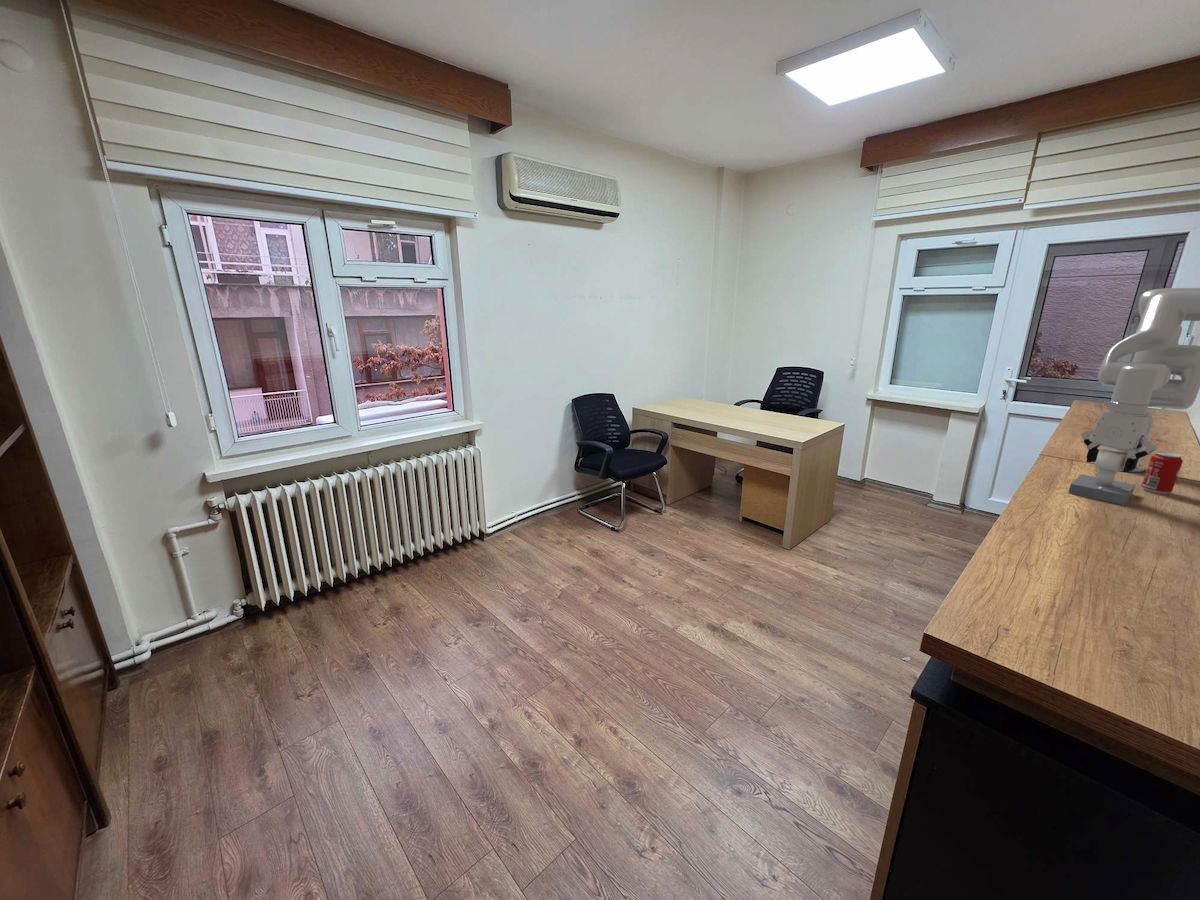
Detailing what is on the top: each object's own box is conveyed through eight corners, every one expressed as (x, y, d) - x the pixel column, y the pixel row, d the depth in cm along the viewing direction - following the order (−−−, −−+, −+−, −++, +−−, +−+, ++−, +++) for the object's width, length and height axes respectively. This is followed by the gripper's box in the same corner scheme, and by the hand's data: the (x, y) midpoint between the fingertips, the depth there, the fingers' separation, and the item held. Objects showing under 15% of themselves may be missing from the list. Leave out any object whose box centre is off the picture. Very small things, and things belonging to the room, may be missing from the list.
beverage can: (1177, 495, 145) (1191, 457, 141) (1156, 495, 145) (1169, 457, 142) (1154, 487, 151) (1167, 451, 147) (1134, 487, 151) (1146, 450, 148)
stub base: (1078, 483, 155) (1085, 459, 153) (1132, 494, 146) (1140, 469, 143) (1068, 493, 147) (1075, 468, 144) (1124, 505, 138) (1133, 479, 135)
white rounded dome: (1093, 467, 144) (1098, 450, 143) (1095, 463, 148) (1100, 446, 146) (1121, 472, 140) (1127, 455, 138) (1123, 468, 143) (1129, 451, 142)
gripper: (1081, 403, 146) (1065, 458, 151) (1160, 416, 130) (1139, 477, 135) (1098, 402, 148) (1082, 456, 153) (1177, 414, 132) (1156, 474, 137)
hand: (1108, 466), depth 144 cm, fingers open, 8 cm apart
